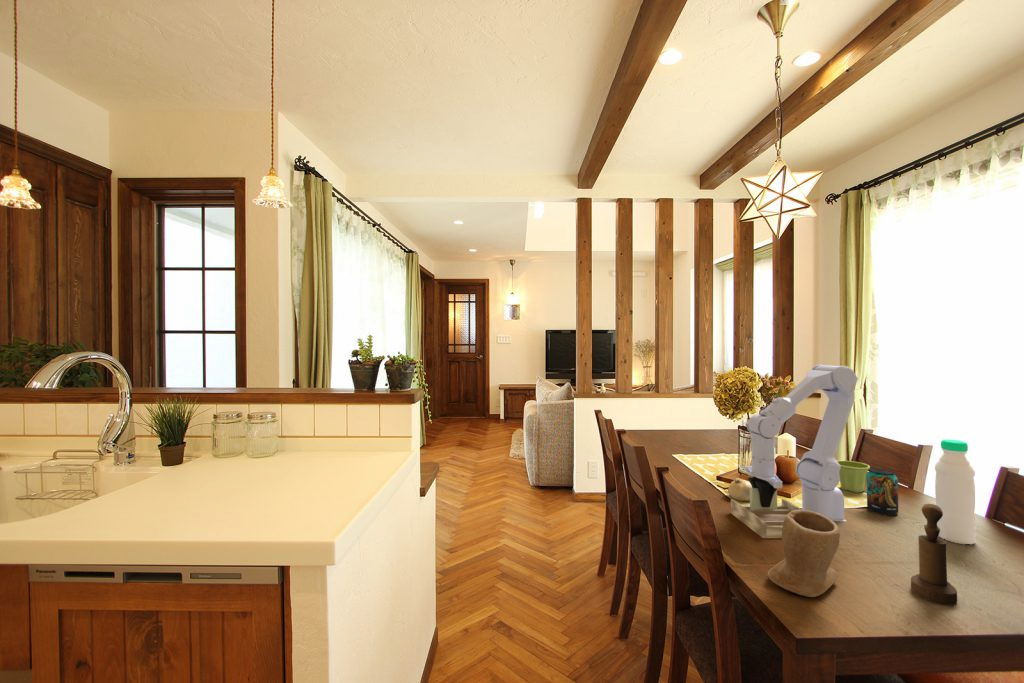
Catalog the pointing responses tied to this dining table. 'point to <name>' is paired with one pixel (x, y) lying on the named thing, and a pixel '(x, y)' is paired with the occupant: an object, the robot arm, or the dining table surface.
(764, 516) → the offcut upper
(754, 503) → the panel
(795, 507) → the rack
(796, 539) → the stone cup
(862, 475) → the plant pot
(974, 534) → the white bottle
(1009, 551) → the dining table surface
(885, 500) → the printed food package
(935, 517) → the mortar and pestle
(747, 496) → the onion
